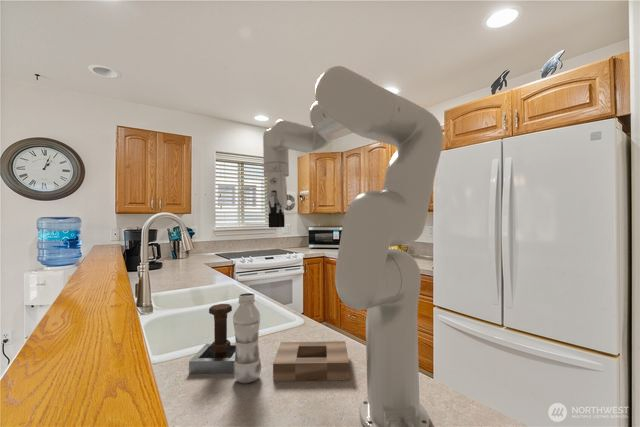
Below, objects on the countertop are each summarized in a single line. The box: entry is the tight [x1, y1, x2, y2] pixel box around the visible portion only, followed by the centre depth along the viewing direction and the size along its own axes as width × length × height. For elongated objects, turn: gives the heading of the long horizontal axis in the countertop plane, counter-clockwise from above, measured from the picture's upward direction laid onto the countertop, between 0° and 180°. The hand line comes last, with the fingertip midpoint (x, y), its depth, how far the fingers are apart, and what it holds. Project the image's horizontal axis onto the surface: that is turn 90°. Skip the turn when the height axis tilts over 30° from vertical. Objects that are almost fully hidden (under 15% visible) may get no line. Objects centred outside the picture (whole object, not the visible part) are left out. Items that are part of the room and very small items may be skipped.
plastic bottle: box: [232, 292, 262, 384], centre depth 67 cm, size 6×7×20 cm
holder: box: [188, 342, 236, 375], centre depth 75 cm, size 10×12×3 cm
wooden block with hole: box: [272, 340, 351, 382], centre depth 72 cm, size 12×18×4 cm, turn 89°
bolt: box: [208, 303, 233, 358], centre depth 75 cm, size 6×5×15 cm
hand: (277, 227), depth 84 cm, fingers open, 9 cm apart
